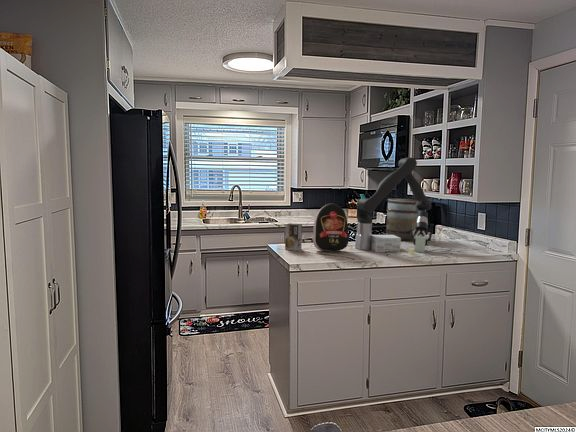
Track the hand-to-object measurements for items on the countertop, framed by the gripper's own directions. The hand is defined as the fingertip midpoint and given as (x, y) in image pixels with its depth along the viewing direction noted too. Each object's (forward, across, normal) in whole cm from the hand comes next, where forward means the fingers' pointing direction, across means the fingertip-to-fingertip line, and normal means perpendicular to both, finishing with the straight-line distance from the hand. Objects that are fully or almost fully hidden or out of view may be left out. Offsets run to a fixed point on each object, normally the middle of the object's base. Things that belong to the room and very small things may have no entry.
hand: (420, 244), depth 275 cm
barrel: (-32, -15, +39) cm, 53 cm away
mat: (+2, 0, +5) cm, 5 cm away
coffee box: (+25, -77, -18) cm, 82 cm away
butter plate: (+12, -5, -6) cm, 15 cm away
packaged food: (+21, -54, -14) cm, 59 cm away
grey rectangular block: (+2, 0, +4) cm, 5 cm away
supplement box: (+6, -22, +2) cm, 23 cm away
